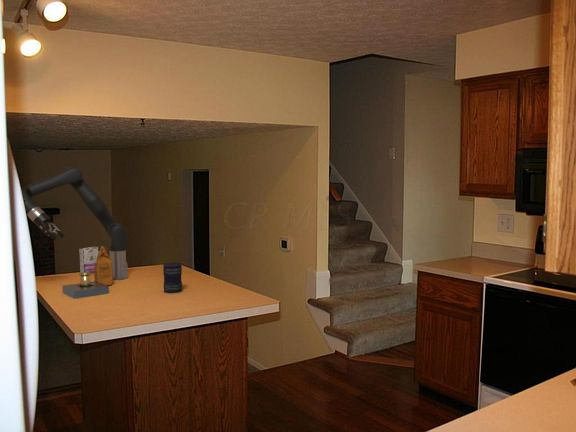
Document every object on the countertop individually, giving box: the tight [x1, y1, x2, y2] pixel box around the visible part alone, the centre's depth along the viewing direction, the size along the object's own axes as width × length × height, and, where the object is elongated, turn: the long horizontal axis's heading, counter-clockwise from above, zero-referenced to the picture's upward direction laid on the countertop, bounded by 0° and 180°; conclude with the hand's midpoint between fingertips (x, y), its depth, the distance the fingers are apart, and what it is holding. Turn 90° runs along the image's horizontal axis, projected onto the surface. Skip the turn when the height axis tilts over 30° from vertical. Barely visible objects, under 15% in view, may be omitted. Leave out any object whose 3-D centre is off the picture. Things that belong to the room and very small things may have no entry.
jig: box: [61, 280, 110, 300], centre depth 283 cm, size 18×18×4 cm
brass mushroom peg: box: [79, 272, 92, 288], centre depth 283 cm, size 6×6×10 cm
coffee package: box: [93, 245, 113, 286], centre depth 304 cm, size 10×12×22 cm
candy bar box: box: [78, 246, 100, 274], centre depth 341 cm, size 11×5×16 cm, turn 143°
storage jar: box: [162, 262, 183, 294], centre depth 287 cm, size 10×10×15 cm
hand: (60, 238), depth 288 cm, fingers open, 8 cm apart
